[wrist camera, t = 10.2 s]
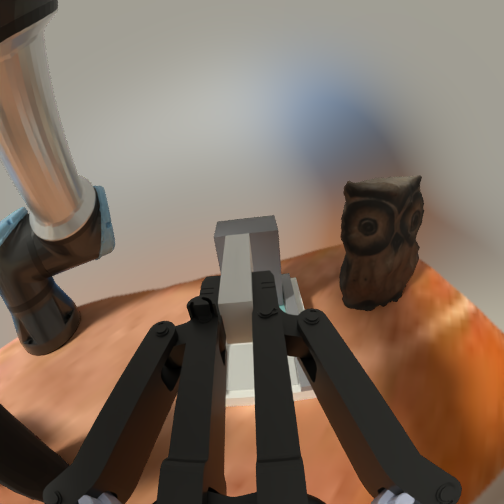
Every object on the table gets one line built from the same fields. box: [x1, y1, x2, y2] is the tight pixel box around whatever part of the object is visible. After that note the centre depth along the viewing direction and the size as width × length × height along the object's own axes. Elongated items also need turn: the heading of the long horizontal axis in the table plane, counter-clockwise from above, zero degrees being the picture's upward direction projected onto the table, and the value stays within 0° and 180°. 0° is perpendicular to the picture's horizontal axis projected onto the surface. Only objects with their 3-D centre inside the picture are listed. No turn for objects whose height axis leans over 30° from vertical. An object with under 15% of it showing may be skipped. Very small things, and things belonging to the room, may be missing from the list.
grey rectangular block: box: [214, 215, 283, 305], centre depth 39 cm, size 5×8×12 cm, turn 92°
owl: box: [340, 176, 424, 311], centre depth 38 cm, size 13×13×20 cm
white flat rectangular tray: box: [225, 273, 317, 407], centre depth 37 cm, size 22×14×3 cm, turn 2°
